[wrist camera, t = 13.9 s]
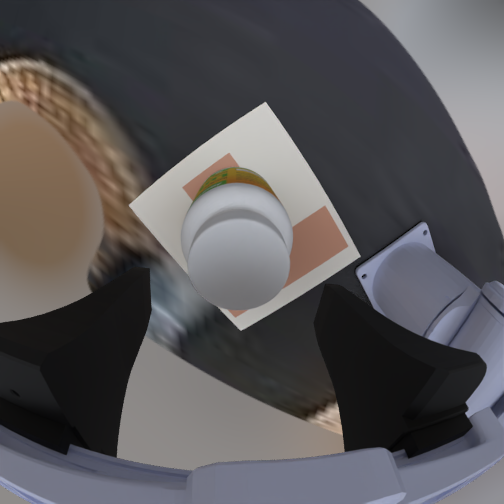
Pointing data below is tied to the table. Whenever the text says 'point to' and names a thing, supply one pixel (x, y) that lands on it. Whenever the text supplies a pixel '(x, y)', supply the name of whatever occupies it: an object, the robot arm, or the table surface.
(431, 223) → the table surface
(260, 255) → the supplement bottle
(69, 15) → the table surface
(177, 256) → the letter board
